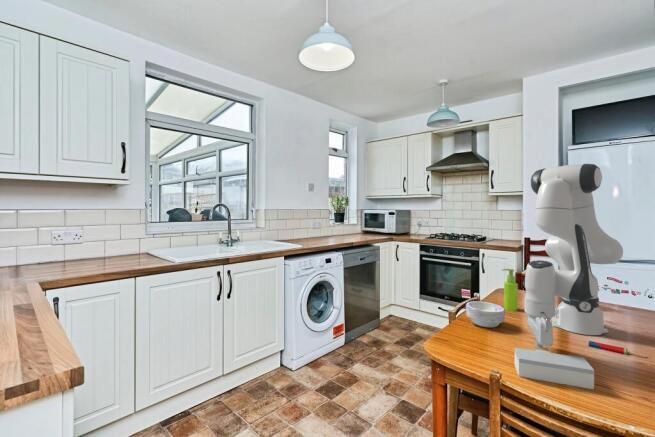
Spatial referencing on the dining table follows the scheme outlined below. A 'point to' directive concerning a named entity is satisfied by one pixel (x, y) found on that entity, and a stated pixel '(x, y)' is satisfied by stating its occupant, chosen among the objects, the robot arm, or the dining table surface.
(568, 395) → the dining table surface
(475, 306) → the paper bowls
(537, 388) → the dining table surface
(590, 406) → the dining table surface
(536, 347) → the slat
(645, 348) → the dining table surface
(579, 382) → the end cap
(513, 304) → the soap dispenser
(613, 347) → the popsicle
